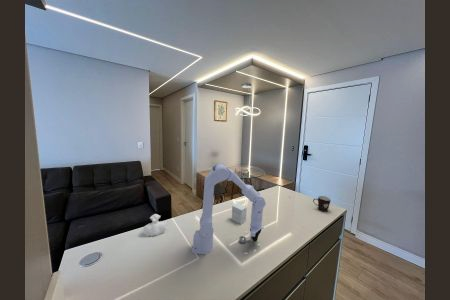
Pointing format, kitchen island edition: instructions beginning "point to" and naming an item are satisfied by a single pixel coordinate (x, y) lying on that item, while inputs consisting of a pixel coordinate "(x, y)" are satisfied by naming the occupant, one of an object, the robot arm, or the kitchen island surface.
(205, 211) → the robot arm
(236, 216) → the small box
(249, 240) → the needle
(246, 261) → the kitchen island surface
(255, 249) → the dial
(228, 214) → the kitchen island surface
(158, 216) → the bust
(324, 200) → the coffee mug
